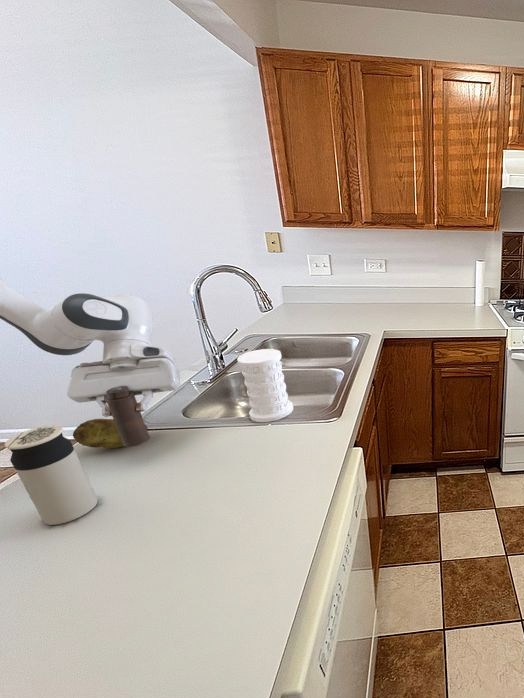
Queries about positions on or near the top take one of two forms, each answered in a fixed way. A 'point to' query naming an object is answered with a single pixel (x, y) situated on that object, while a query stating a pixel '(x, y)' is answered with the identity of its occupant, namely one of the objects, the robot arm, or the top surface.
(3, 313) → the robot arm
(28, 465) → the travel mug
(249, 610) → the top surface
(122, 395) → the pepper mill
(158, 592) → the top surface
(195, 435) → the top surface
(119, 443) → the green pickle
